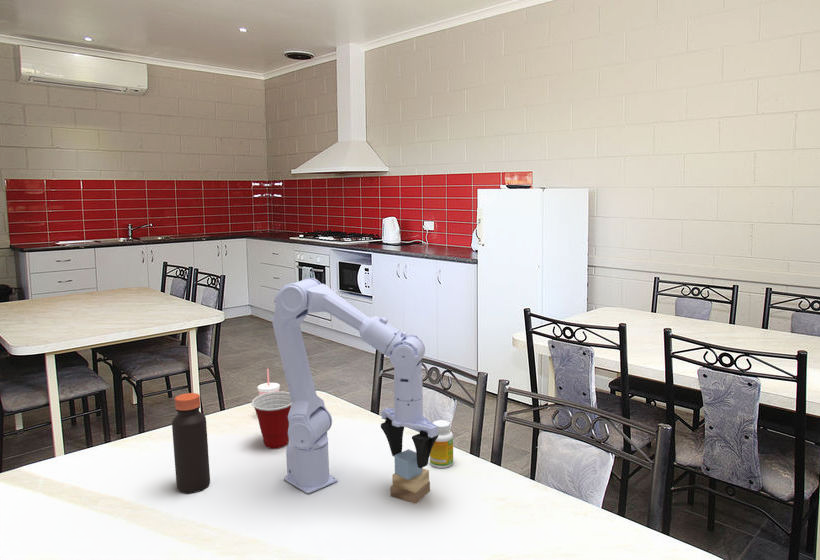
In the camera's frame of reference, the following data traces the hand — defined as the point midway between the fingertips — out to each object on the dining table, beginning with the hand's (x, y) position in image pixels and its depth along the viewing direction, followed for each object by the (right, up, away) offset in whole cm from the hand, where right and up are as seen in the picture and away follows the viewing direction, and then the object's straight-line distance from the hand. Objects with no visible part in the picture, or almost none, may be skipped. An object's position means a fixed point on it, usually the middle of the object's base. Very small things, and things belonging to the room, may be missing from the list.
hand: (409, 460), depth 120 cm
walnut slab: (0, -8, +1) cm, 8 cm away
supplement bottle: (+7, -6, +15) cm, 18 cm away
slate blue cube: (0, -3, 0) cm, 3 cm away
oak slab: (0, -5, +1) cm, 5 cm away
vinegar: (-47, -8, +6) cm, 47 cm away
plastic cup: (-33, -4, +27) cm, 43 cm away
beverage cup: (-40, -2, +46) cm, 61 cm away
